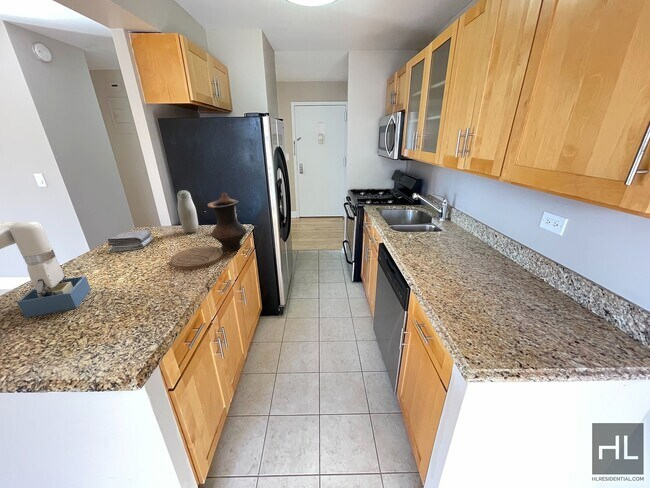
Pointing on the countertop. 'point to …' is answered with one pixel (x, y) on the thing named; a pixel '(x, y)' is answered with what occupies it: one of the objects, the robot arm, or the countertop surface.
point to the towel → (129, 241)
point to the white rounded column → (187, 212)
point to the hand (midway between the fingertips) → (59, 298)
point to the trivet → (196, 257)
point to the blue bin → (55, 299)
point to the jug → (227, 223)
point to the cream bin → (60, 288)
